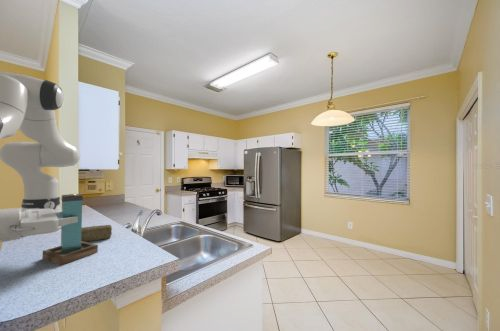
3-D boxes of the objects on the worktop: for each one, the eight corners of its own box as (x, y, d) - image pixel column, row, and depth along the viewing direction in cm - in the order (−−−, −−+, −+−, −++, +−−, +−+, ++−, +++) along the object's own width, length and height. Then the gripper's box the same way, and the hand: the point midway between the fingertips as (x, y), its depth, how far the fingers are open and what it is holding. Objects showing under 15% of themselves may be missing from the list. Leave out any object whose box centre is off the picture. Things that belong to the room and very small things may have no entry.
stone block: (111, 239, 84) (111, 226, 84) (74, 244, 78) (74, 231, 78) (112, 235, 89) (112, 223, 89) (77, 239, 83) (77, 227, 83)
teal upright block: (60, 250, 68) (61, 194, 68) (79, 246, 71) (80, 192, 71) (61, 255, 65) (62, 195, 65) (81, 250, 68) (82, 194, 68)
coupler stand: (42, 259, 65) (42, 250, 65) (78, 247, 74) (78, 240, 74) (62, 265, 61) (62, 256, 61) (97, 252, 71) (97, 244, 71)
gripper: (8, 220, 51) (80, 212, 61) (14, 207, 66) (71, 202, 76) (7, 245, 51) (80, 233, 61) (13, 227, 66) (71, 220, 76)
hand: (75, 216), depth 69 cm, fingers open, 8 cm apart
